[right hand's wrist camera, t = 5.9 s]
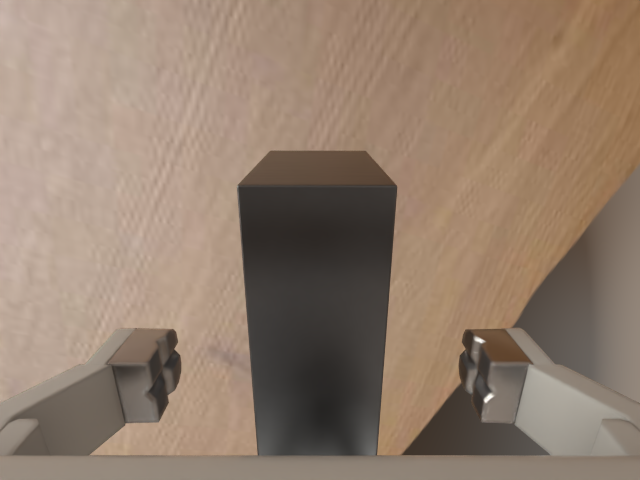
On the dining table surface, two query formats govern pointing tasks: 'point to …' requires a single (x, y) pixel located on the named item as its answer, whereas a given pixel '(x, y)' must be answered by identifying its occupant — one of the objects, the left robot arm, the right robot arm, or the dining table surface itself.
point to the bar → (317, 298)
